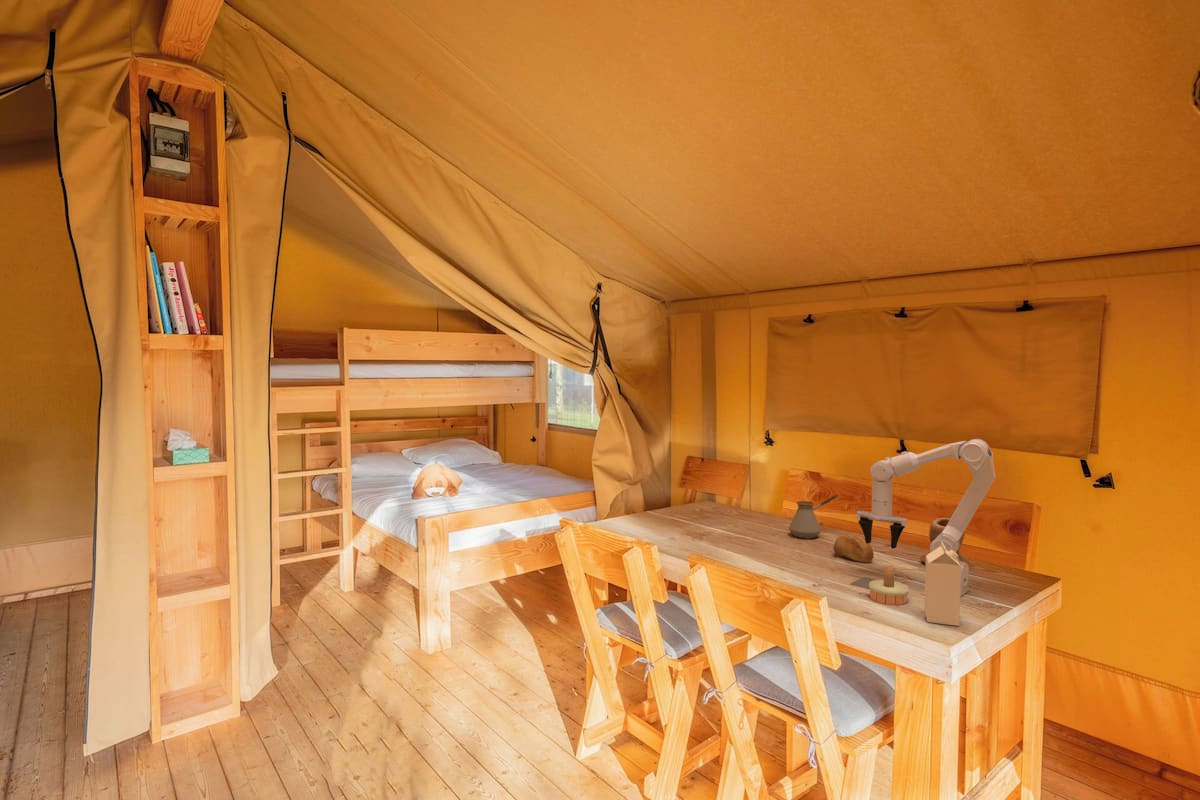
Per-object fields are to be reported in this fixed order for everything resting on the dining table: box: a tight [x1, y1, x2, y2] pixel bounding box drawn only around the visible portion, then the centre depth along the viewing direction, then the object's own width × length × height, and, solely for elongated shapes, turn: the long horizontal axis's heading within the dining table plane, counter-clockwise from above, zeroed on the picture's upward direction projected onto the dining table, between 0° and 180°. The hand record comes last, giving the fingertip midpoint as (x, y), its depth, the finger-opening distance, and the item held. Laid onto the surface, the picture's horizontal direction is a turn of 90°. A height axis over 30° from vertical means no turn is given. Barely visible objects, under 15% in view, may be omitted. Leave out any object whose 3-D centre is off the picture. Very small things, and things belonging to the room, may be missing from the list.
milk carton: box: [923, 542, 961, 627], centre depth 165 cm, size 7×7×19 cm
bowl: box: [869, 589, 908, 606], centre depth 179 cm, size 9×9×3 cm
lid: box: [869, 565, 910, 596], centre depth 179 cm, size 10×10×6 cm
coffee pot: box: [788, 494, 841, 540], centre depth 249 cm, size 21×12×15 cm, turn 110°
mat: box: [849, 576, 878, 590], centre depth 191 cm, size 10×10×1 cm
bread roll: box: [833, 534, 874, 564], centre depth 218 cm, size 10×15×8 cm, turn 23°
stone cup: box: [919, 517, 970, 564], centre depth 211 cm, size 15×12×15 cm
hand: (880, 545), depth 198 cm, fingers open, 7 cm apart
